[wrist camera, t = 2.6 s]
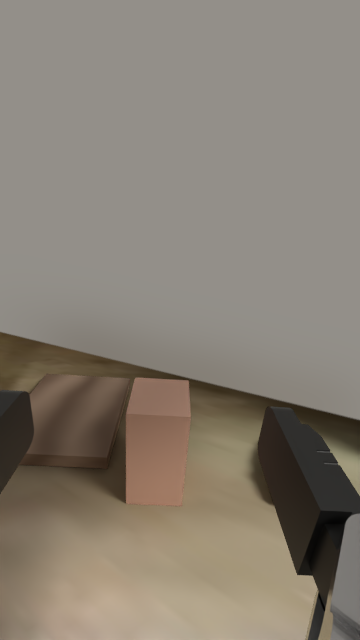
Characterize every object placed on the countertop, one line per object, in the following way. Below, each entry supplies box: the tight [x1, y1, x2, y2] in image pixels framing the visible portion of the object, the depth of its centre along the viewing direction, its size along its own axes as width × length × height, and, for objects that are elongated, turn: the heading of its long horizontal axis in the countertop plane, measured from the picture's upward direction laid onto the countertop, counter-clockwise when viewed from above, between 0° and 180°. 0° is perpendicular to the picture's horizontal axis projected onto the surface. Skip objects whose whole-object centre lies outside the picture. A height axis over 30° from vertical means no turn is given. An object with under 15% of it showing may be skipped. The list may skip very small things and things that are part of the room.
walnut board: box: [19, 374, 130, 469], centre depth 34 cm, size 12×14×2 cm
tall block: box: [126, 378, 191, 506], centre depth 26 cm, size 5×5×10 cm
